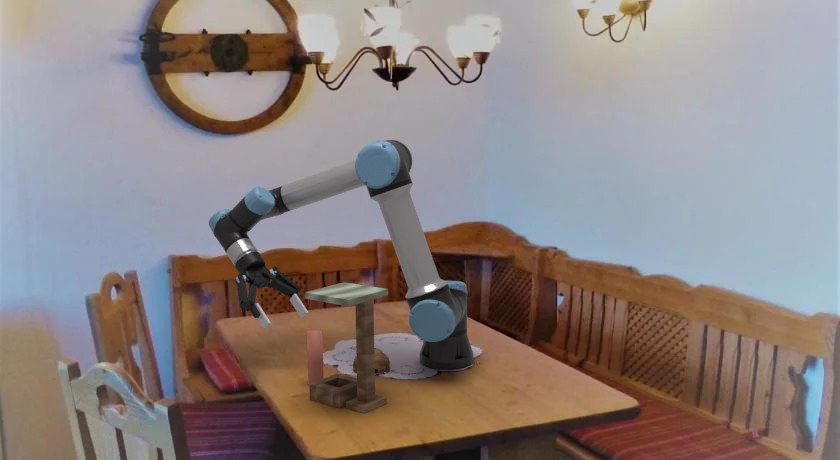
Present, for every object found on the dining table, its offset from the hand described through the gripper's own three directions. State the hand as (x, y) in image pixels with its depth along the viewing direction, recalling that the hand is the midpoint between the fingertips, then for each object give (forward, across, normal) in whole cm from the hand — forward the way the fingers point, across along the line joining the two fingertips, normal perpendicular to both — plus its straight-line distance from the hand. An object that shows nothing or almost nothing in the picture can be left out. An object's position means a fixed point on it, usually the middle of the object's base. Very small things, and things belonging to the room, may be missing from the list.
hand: (286, 320), depth 212 cm
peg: (+18, 0, -4) cm, 18 cm away
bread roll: (+21, -18, -1) cm, 27 cm away
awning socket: (+29, +4, +7) cm, 30 cm away
